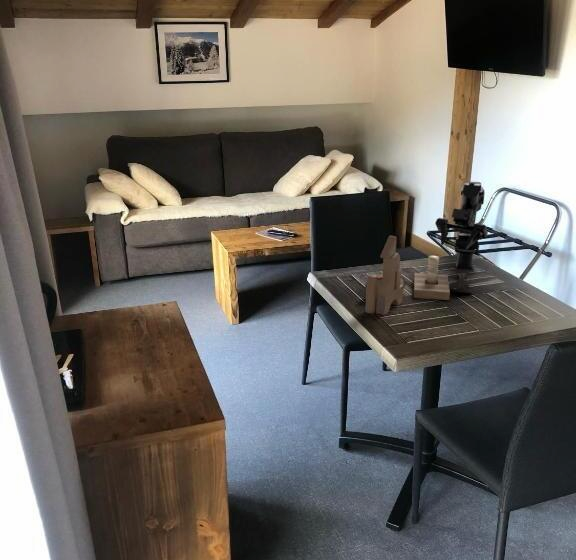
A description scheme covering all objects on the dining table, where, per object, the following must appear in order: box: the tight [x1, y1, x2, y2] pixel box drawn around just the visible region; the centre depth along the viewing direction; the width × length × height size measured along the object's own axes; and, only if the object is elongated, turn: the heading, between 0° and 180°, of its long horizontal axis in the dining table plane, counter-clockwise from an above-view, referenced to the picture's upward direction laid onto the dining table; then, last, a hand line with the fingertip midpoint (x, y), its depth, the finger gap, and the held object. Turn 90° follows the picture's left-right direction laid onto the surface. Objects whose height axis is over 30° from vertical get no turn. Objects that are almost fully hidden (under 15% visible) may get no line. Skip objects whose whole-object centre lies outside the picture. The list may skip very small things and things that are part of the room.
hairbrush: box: [449, 272, 473, 294], centre depth 213 cm, size 8×4×25 cm
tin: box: [364, 273, 406, 300], centre depth 201 cm, size 15×3×8 cm, turn 111°
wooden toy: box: [365, 235, 404, 316], centre depth 189 cm, size 16×7×25 cm, turn 144°
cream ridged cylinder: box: [426, 255, 440, 285], centre depth 206 cm, size 4×4×12 cm
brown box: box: [413, 272, 451, 301], centre depth 208 cm, size 18×12×3 cm, turn 168°
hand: (453, 246), depth 212 cm, fingers open, 9 cm apart
